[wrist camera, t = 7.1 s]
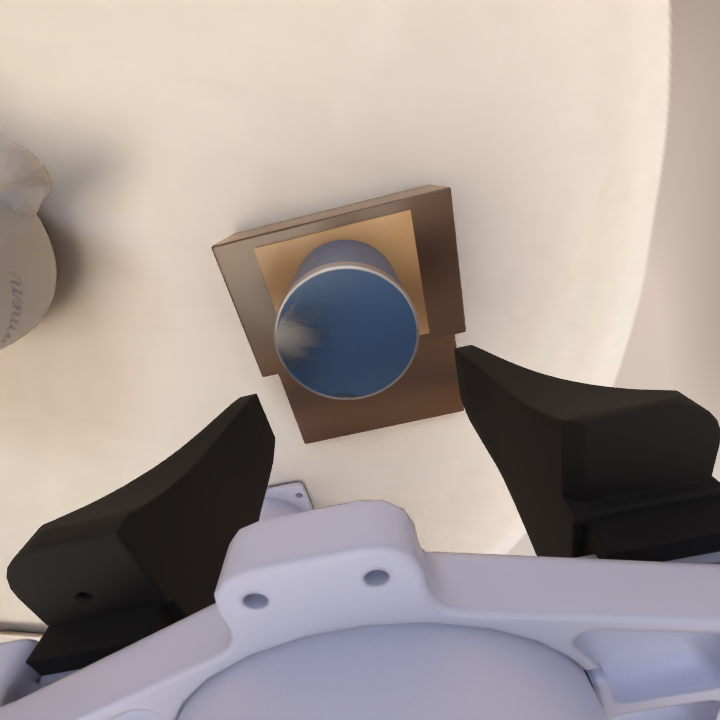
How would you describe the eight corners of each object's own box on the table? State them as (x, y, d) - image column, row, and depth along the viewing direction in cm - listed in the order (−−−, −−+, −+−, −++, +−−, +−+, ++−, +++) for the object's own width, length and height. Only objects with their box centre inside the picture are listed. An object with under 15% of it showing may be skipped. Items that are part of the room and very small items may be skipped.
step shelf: (459, 401, 26) (479, 439, 22) (306, 433, 27) (300, 476, 23) (431, 184, 20) (452, 186, 16) (233, 233, 21) (208, 247, 17)
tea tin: (407, 329, 19) (429, 384, 14) (309, 351, 19) (298, 413, 14) (387, 225, 17) (407, 248, 12) (277, 252, 17) (251, 285, 12)
